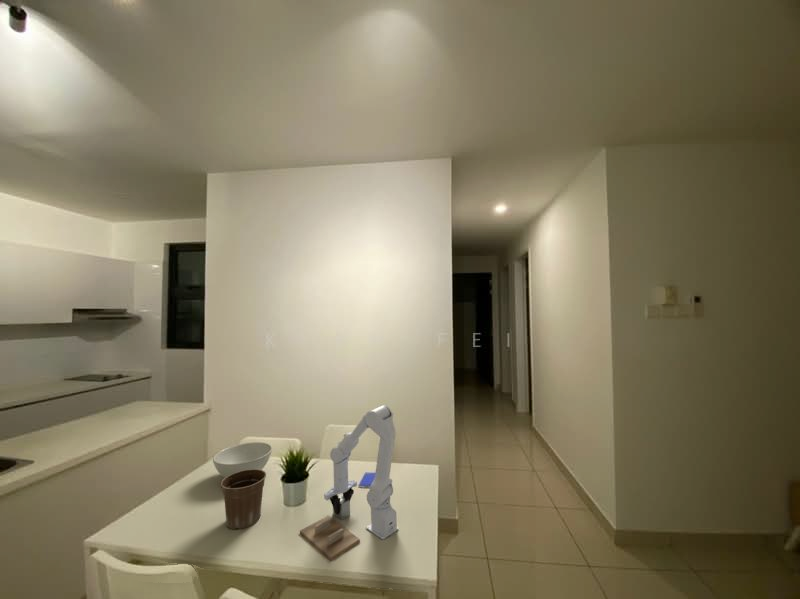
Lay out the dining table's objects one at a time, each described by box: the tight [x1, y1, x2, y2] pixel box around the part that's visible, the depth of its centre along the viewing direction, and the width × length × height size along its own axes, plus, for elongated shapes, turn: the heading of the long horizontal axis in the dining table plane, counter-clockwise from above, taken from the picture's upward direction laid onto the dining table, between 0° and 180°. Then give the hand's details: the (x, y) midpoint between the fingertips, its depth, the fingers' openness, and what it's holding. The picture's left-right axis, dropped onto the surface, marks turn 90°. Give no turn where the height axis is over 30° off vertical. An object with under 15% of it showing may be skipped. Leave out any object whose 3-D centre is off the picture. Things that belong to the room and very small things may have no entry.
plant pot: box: [220, 469, 267, 530], centre depth 129 cm, size 16×16×16 cm
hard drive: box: [357, 471, 375, 489], centre depth 157 cm, size 2×8×12 cm
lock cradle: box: [299, 515, 361, 561], centre depth 117 cm, size 20×12×4 cm, turn 45°
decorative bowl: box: [212, 441, 273, 479], centre depth 164 cm, size 27×27×12 cm
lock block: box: [332, 494, 351, 521], centre depth 131 cm, size 6×4×6 cm, turn 45°
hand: (341, 510), depth 131 cm, fingers closed on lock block, 4 cm apart
